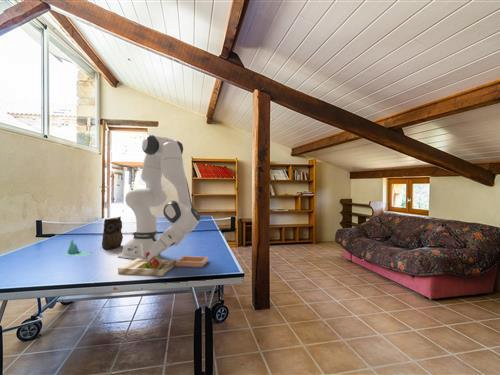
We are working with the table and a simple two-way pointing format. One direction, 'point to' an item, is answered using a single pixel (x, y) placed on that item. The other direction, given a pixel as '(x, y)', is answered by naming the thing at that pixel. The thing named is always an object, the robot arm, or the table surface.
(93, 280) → the table surface
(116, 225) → the brown owl figurine
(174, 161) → the robot arm
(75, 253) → the diorama
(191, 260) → the terracotta tray
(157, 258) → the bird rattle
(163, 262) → the puzzle board
